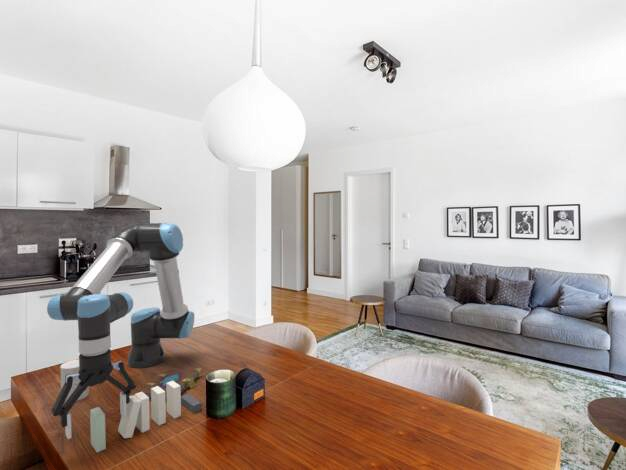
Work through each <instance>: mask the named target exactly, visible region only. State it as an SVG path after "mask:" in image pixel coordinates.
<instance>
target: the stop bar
mask: <svg viewBox="0 0 626 470" xmlns="http://www.w3.org/2000/svg"><path fill="white" fill-rule="evenodd" d="M202 405H203V403H202V401H200V400H199V399H197V398H196V397H195V396H193V395H192V394H191V393H186V394H184V395H181V406H183V407H184V408H186V409H187V410H188V411H189V412H191V413H192V414H194V415H195V414H197V412H198V413H199V411H200V412H201V411H202V410H203V406H202Z"/></svg>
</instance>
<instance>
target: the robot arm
mask: <svg viewBox="0 0 626 470" xmlns="http://www.w3.org/2000/svg"><path fill="white" fill-rule="evenodd" d="M183 237H184V236H183V233H182V231H181V229H180V227H179V226H178V225H177V224H175V223H167V222H157V223H155V222H154V223H153V222H151V223H149V222H147V223H144V222H143V223H140V222H139V223H138V222H137V223H133V224H130V225H127V226H125V227H124V228H122V229H120V230H118V231H117V232H116V233H115V234H114V235H113V236H111V237H110V238H109V240H108V241H107V242H106V244H105V249H103V251H102V252H101V253H100V254H99V255H98V257H97V258H96V259H95V260H94V262H93V263H92V264H91V265H90V266H89V267H88V268H87V270H86V271H85V272H84V273H83V274H82V275H81V276H80V278H79V279H78V280H77V281H76V282H75V283H74V285H72V287H71V288H70V290H68V291H67V293H65V294H57V295H54V296H52V297H51V298H50V299H49V301H48V303H47V306H46V311H47V312H46V313H47V314H48V317H49V318H50V319H51V320H56V321H65V322H66V321H77V326H78V327H77V329H78V353H79V355H78V359H79V373H78V374H74V375H70V374H67V375H66V376H65V384H64V386H63V388H62V390H60V391H59V394H58V396H57V398H56V400H55V402H54V404H53V406H52V408H51V411H50V412H51V414H52V415H53V417H58V416H59V418H60V419H59V420H60V426H62V428H65V436H66V438H67V440H70V439H72V438H73V437H72V414H71V412H70V410H71V409H72V408H73V406H74V405H75V404H76V403H77V400H78V398H79V397H80V396H81V394H82V393H83V392H84V391H85V390H86V389H87V387H88V386H89V387H91V388H92V387H95V386H97V385H101V384H104V383H105V382H106V381H108V382H109V383H111V384H112V385H114V386H115V387H116V388H118V389H119V390H120V391H121V392H119V411H120V415H121V417H122V416H123V417H126V404H128V403H129V396H130V395H131V391H133V390H135V389H136V388H137V385H136V384H135V382H134V381H133V379H132V378H131V376H130V375H129V374H128V372H127V371H126V368H125V363H124V362H123V361H122V360H120V359H118V360H117V361H116V362H114V363H112V350H111V349H110V348H111V347H112V344H111V343H112V340H111V324H112V323H113V322H116V321H117V320H119V319H122V318H124V317H126V316H127V315H128V314H129V313H131V311H132V309H133V307H134V299H133V297H132V296H131V295H130V294H128V292H127V293H126V292H123V291H122V292H115V293H113V294H104V293H101V292H102V290H103V289H104V288H105V286H106V285H107V283H109V281H110V280H111V279H112V277H113V275H114V274H115V273H116V272H117V270H118V269H119V268H120V266H121V265H122V264H123V262H124V261H125V260H126V259H129V258H130V257H132V256H133V254H135V253H147V254H148V259H149V260H151V261H153V264H154V268H155V269H154V270H155V275H156V279H157V280H156V281H157V285H158V289H159V295H160V301H161V306H162V309H160V307H157V306H156V307H147V308H143V309H140V310H137V311H135V312H133V313H132V314H131V316H130V332H131V333H130V337H131V338H130V339H131V347H130V350H129V353H128V355H127V361H126V363H127V366H128V367H130V368H135V369H137V368H139V369H140V368H148V367H152V366H155V365H158V364H160V363H162V362H163V361H164V360H165V358H166V356H165V351H164V348H163V345H162V343H161V339H179V340H180V339H186V338H189V336H190V335H191V334H192V331H193V329H194V325H195V312H193V311H191V310H190V311H189V306H188V305H187V304H186V303H184V296H183V292H182V285H181V279H180V273H179V267H178V266H179V265H178V259H177V257H178V256H179V255H180V253H181V251H182V250H183V247H184V243H183V242H184V238H183ZM114 369H115V371H118V372H119V374H120V375H121V376H122V377H121V378H123V380H124V381H125V383H126V384H127V386H125V385H124V384H123V383H121V382H120V381H119V380H117V379H116V378H115V377H113V376H112V375H110V374H111V373H112V372H113V370H114ZM76 379H80V380H81V381H80V382H79V384H78V385H77V388H76V389H75V390H74V392H73V393H72V394H71V396H70V397H69V398H68V400H67V401H66V402H65V400H66V398H67V396H68V394H69V392H70V390H71V387H72V384H73V383H75V381H76ZM78 401H79V400H78Z"/></svg>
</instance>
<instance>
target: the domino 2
mask: <svg viewBox="0 0 626 470" xmlns="http://www.w3.org/2000/svg"><path fill="white" fill-rule="evenodd" d="M140 406H141V401H140V400H139V399H138V398H137V397H136V396H135V394H134V395H129V403H128V404H126V417H123V416H122V415H121V417H120V421H119V424H118V425H119V426H118V429H117V431H118V433H119V434H120V435H121V436H122V438H123V439H129V438H130V439H131V438H133V436H134V431H135V429H136V426H135V425H136V421H137V417H138V413H139V409H140Z"/></svg>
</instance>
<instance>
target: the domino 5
mask: <svg viewBox="0 0 626 470" xmlns="http://www.w3.org/2000/svg"><path fill="white" fill-rule="evenodd" d="M166 389H167V400H166V414H167V413H168V414H169V416H171V417H172V419H177V418H179V417H181V416H182V404H181V396H182V395H181V394H182V393H181V386H180V385H179V384H177V383H176V382H174V381H170V382H167V383H166Z"/></svg>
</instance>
